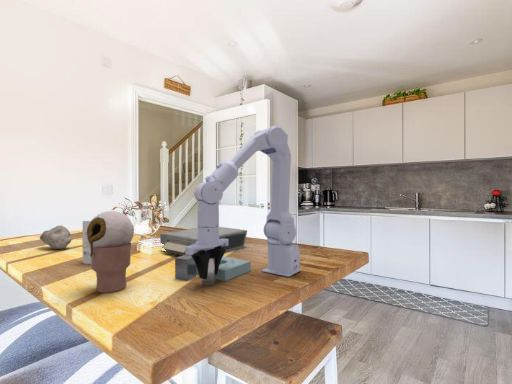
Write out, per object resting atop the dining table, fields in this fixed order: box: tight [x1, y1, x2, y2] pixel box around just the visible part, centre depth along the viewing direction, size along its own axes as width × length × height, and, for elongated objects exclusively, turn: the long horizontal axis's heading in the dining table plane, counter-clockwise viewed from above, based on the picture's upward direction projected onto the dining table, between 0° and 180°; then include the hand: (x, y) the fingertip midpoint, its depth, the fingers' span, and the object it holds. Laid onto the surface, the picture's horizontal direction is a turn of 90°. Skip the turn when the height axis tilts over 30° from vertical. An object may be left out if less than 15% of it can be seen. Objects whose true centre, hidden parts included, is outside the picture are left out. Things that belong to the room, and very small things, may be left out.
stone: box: [39, 224, 73, 250], centre depth 124 cm, size 9×14×10 cm, turn 59°
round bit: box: [201, 256, 216, 287], centre depth 79 cm, size 3×3×7 cm
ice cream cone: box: [86, 210, 135, 294], centre depth 75 cm, size 11×11×20 cm
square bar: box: [174, 255, 197, 282], centre depth 84 cm, size 4×4×6 cm
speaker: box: [159, 226, 248, 256], centre depth 121 cm, size 24×8×30 cm
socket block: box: [196, 256, 252, 282], centre depth 90 cm, size 15×12×3 cm
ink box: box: [81, 220, 91, 265], centre depth 101 cm, size 8×5×15 cm, turn 72°
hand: (208, 276), depth 79 cm, fingers closed on round bit, 3 cm apart
